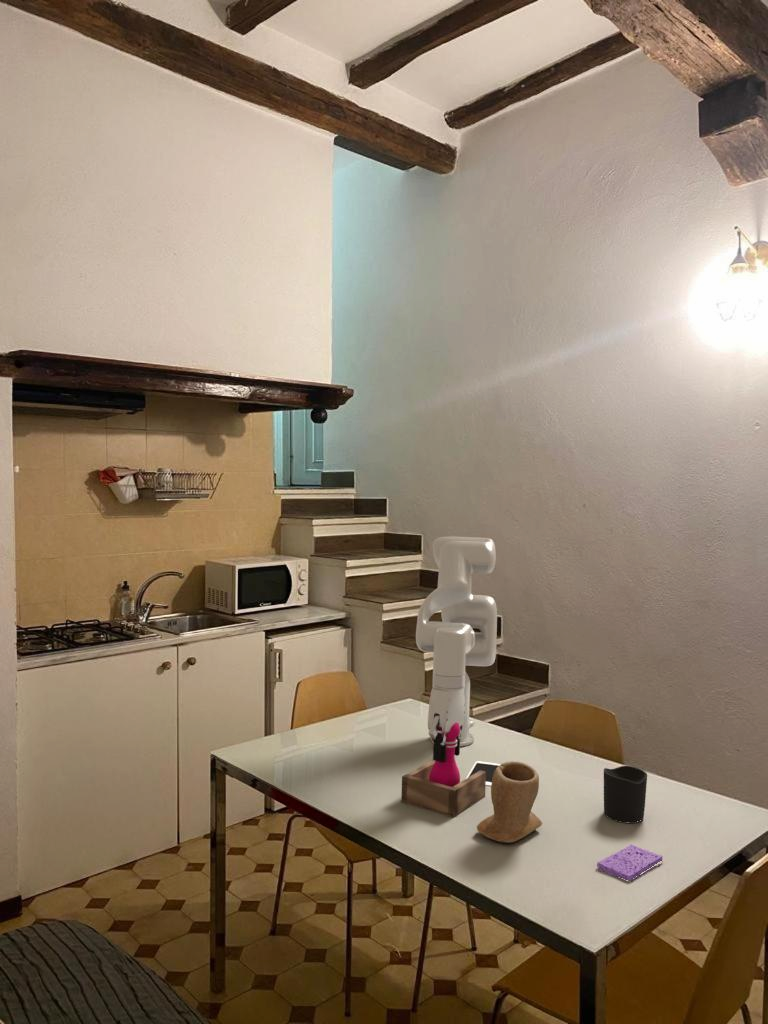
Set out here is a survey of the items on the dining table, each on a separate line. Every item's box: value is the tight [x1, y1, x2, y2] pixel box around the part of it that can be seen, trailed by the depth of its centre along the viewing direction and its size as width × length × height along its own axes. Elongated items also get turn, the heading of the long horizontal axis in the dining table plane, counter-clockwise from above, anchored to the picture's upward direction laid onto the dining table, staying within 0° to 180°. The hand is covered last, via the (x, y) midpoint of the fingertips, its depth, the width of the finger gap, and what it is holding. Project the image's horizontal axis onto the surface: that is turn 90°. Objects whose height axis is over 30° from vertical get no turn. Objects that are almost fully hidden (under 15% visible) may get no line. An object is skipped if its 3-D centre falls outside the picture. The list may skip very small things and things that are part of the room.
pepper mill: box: [429, 723, 461, 787], centre depth 186 cm, size 7×7×20 cm
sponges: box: [596, 844, 663, 882], centre depth 156 cm, size 7×13×2 cm, turn 132°
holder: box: [400, 759, 486, 818], centre depth 186 cm, size 15×14×6 cm
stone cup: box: [476, 761, 543, 844], centre depth 168 cm, size 15×12×15 cm
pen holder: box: [603, 765, 648, 823], centre depth 179 cm, size 9×9×10 cm
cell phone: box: [465, 760, 502, 787], centre depth 204 cm, size 8×16×1 cm, turn 162°
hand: (446, 756), depth 186 cm, fingers open, 5 cm apart
